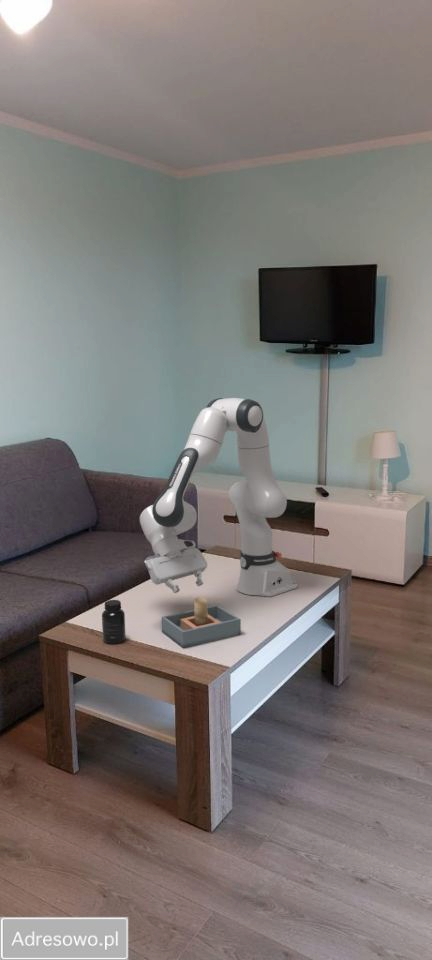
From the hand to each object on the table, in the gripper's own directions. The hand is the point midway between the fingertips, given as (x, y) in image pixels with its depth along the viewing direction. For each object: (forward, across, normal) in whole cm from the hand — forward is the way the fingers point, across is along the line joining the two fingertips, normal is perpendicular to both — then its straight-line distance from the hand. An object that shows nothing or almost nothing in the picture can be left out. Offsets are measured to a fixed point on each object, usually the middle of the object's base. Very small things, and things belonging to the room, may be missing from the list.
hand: (189, 588), depth 226 cm
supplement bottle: (+4, -23, +14) cm, 28 cm away
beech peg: (+13, 0, +4) cm, 13 cm away
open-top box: (+13, 0, +5) cm, 14 cm away
